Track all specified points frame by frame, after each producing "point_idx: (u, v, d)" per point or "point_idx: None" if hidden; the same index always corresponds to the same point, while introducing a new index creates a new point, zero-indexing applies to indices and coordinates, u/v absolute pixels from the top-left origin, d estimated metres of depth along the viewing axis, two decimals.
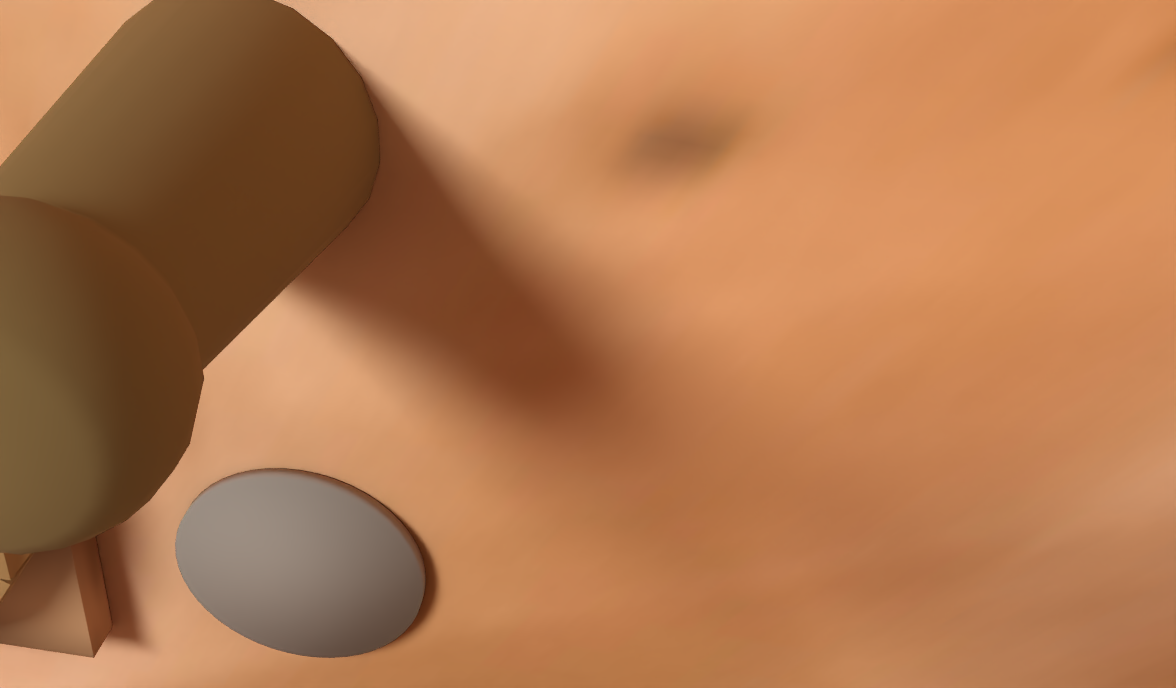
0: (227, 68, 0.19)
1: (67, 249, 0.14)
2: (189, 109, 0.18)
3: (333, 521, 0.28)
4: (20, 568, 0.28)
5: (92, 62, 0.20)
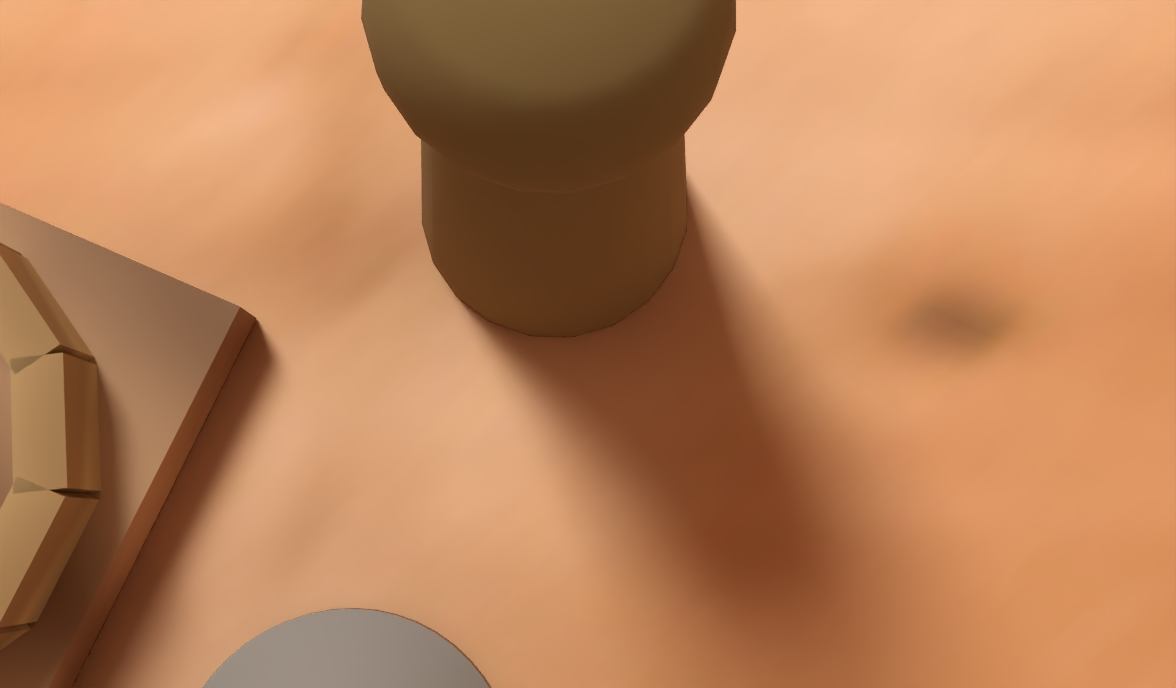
0: None
1: None
2: None
3: None
4: (5, 631, 0.20)
5: None
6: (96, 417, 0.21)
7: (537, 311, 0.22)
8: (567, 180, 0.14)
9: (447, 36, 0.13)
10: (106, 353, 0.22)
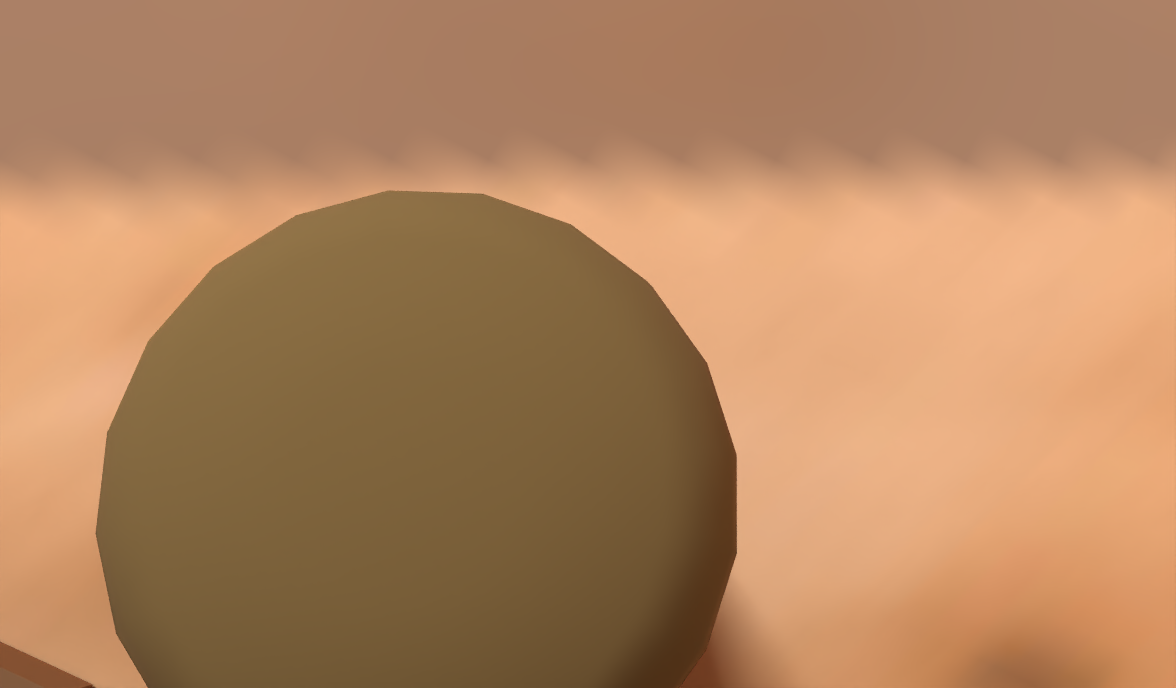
0: None
1: None
2: None
3: None
4: None
5: None
6: None
7: None
8: None
9: (216, 665, 0.07)
10: None
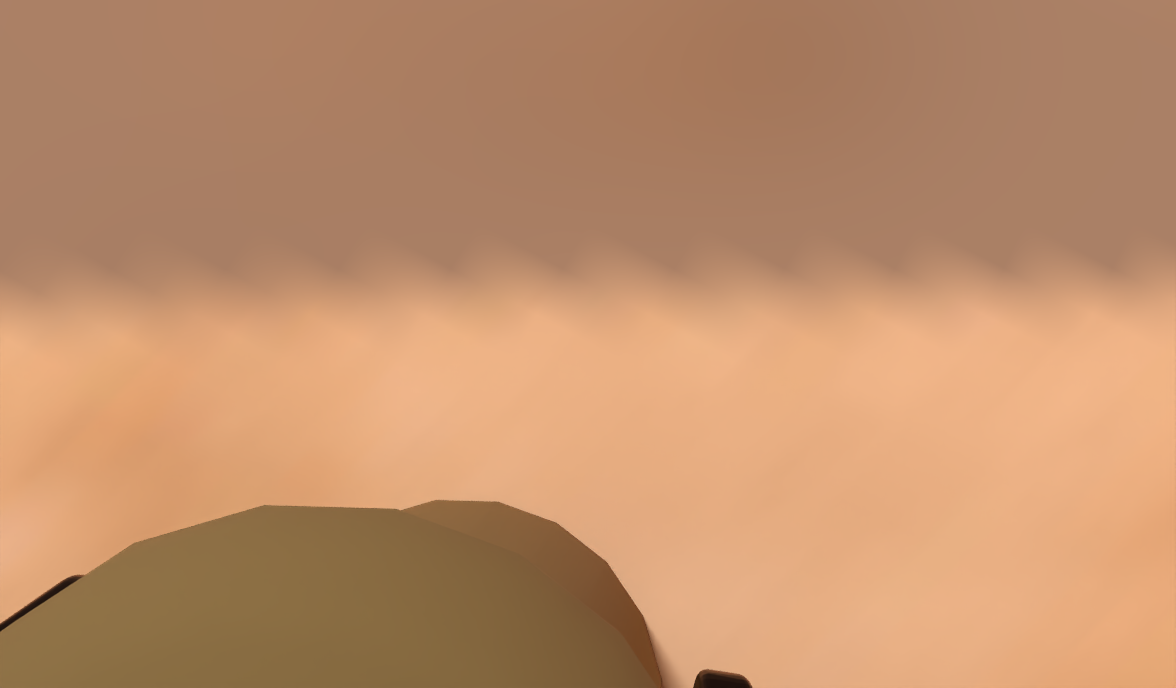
0: (586, 580, 0.13)
1: None
2: (577, 599, 0.12)
3: None
4: None
5: None
6: None
7: None
8: None
9: None
10: None
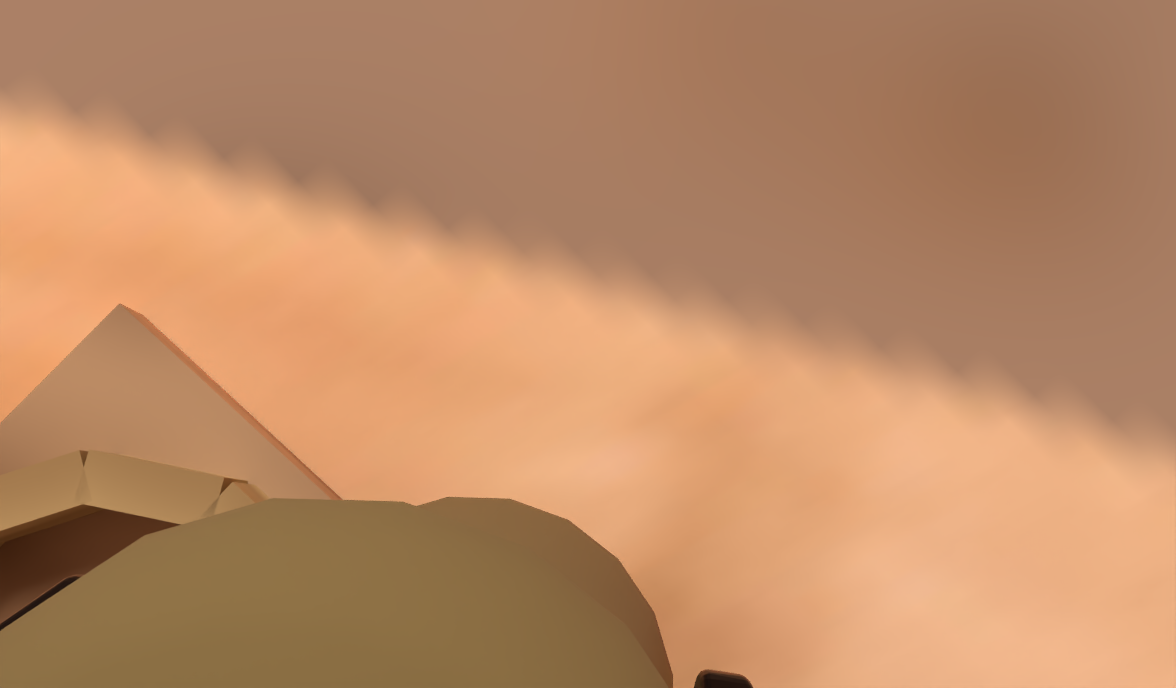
0: (597, 576, 0.13)
1: None
2: (588, 593, 0.12)
3: None
4: None
5: None
6: None
7: None
8: None
9: None
10: None
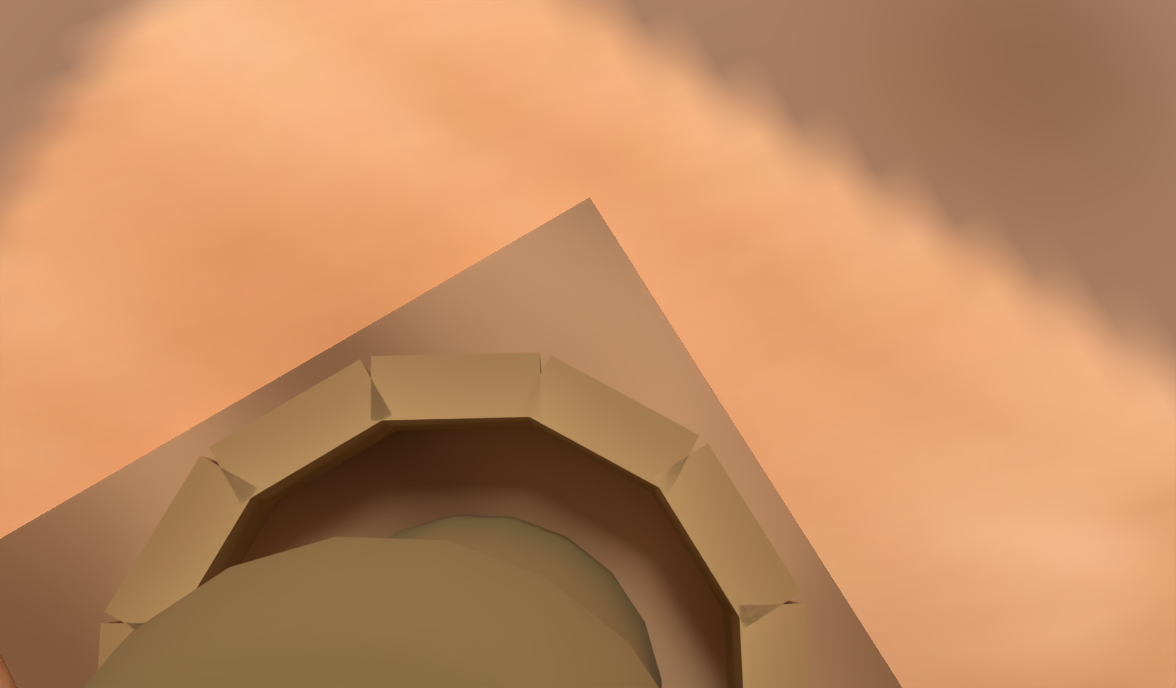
0: (595, 590, 0.14)
1: None
2: (588, 608, 0.13)
3: None
4: None
5: None
6: None
7: None
8: None
9: None
10: None
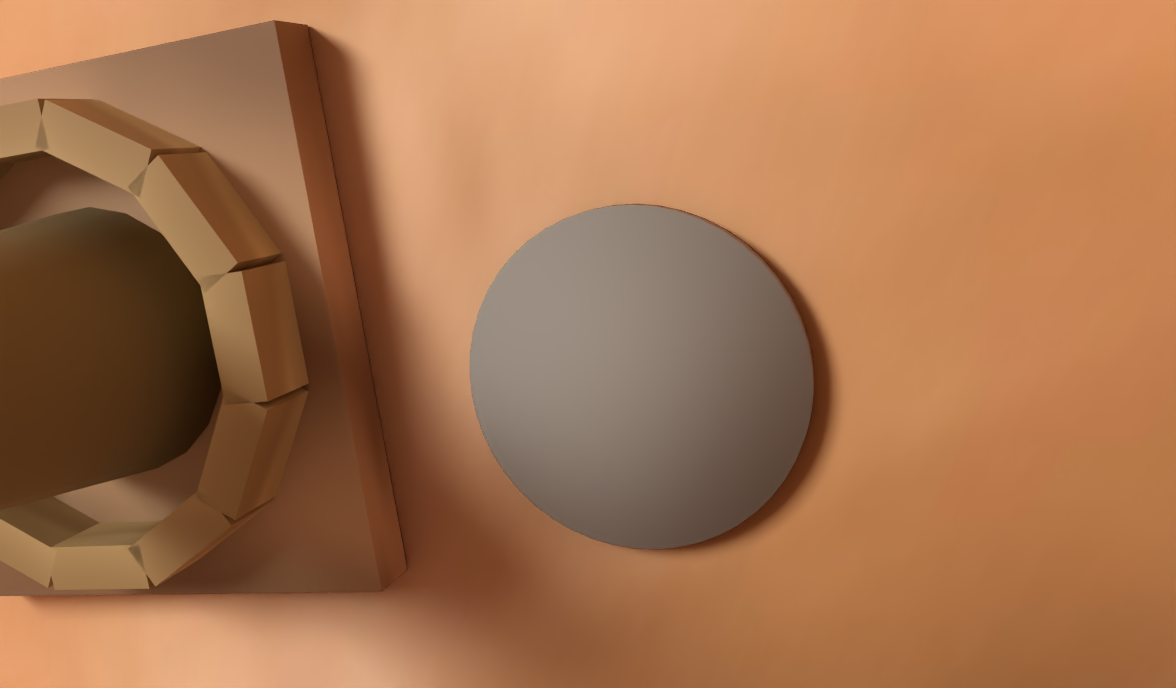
0: None
1: None
2: None
3: (666, 266, 0.20)
4: (282, 401, 0.21)
5: None
6: (234, 195, 0.22)
7: (153, 433, 0.22)
8: None
9: None
10: (207, 137, 0.22)
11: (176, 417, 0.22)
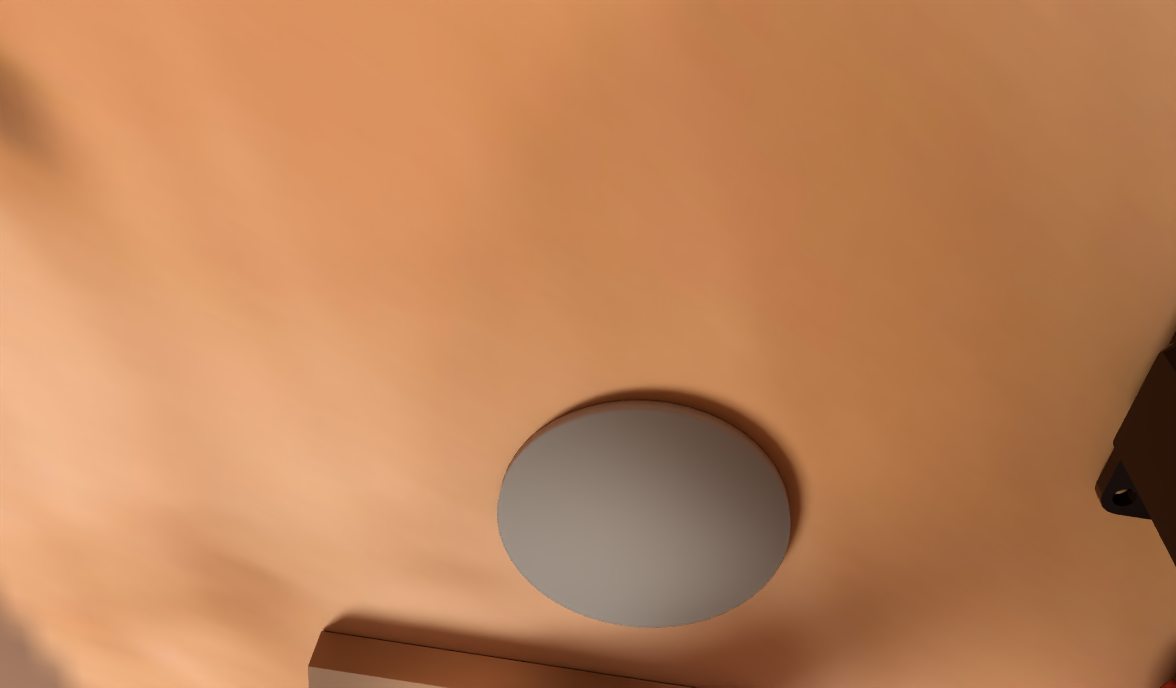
0: None
1: None
2: None
3: (554, 482, 0.25)
4: None
5: None
6: None
7: None
8: None
9: None
10: None
11: None
